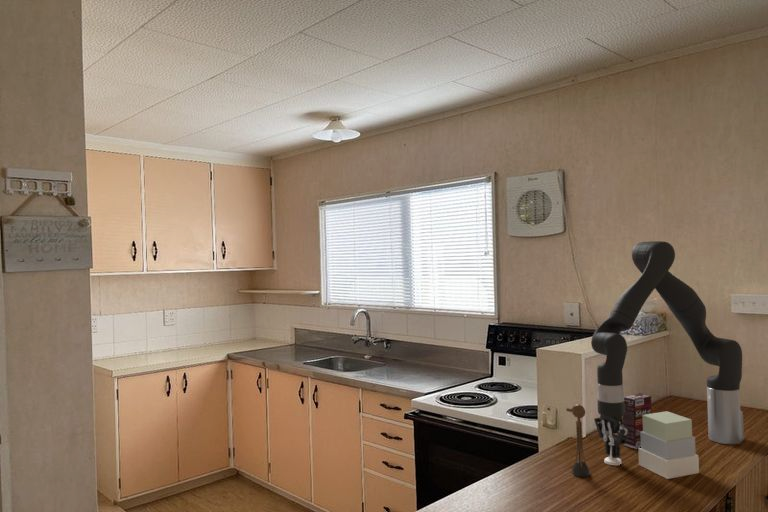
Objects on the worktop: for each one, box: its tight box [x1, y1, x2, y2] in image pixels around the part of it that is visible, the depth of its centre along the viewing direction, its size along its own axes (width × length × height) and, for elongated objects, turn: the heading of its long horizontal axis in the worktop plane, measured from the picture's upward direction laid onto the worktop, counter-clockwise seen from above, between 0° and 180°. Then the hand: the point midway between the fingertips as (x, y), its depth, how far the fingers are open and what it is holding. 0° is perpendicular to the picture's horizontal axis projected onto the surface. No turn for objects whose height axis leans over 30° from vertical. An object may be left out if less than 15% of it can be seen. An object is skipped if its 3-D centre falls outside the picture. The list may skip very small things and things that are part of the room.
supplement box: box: [622, 393, 653, 450], centre depth 184 cm, size 9×5×16 cm, turn 119°
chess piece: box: [603, 436, 623, 466], centre depth 170 cm, size 5×5×10 cm
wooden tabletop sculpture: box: [565, 404, 591, 478], centre depth 163 cm, size 6×5×20 cm
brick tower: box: [637, 410, 700, 480], centre depth 164 cm, size 11×11×15 cm
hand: (612, 455), depth 171 cm, fingers closed on chess piece
